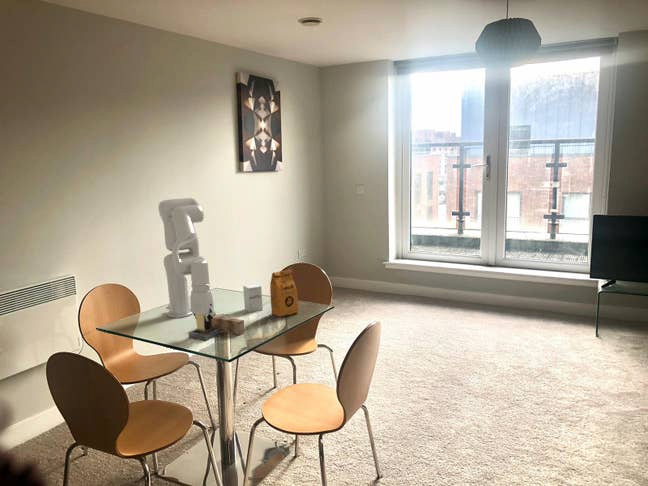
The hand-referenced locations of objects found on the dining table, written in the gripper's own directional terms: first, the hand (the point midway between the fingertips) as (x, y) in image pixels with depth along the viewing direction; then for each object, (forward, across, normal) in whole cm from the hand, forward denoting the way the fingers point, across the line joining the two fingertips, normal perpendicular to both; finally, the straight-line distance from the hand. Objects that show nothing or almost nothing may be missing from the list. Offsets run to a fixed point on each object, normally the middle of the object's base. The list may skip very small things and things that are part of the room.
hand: (204, 327), depth 234 cm
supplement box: (+4, -6, +41) cm, 42 cm away
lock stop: (+1, 0, 0) cm, 1 cm away
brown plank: (+4, +2, +9) cm, 10 cm away
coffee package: (+4, +14, +41) cm, 43 cm away
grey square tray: (+4, 0, 0) cm, 4 cm away
